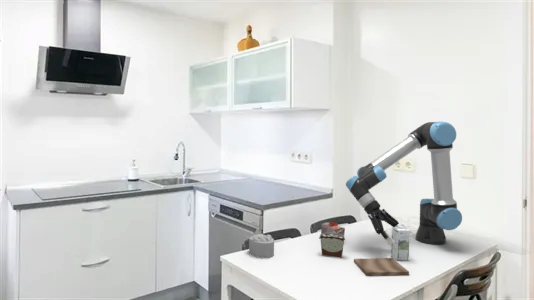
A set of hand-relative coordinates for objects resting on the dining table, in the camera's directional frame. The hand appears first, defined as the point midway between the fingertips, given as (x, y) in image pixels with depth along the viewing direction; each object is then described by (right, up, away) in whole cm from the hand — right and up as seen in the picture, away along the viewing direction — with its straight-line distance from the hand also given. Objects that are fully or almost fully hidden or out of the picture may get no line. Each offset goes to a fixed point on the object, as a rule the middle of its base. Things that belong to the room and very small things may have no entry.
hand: (398, 240), depth 168 cm
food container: (-30, -8, +5) cm, 31 cm away
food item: (-26, -7, +29) cm, 39 cm away
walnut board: (-12, -9, -12) cm, 19 cm away
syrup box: (+1, -9, 0) cm, 9 cm away
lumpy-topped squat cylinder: (-63, -8, +5) cm, 64 cm away
